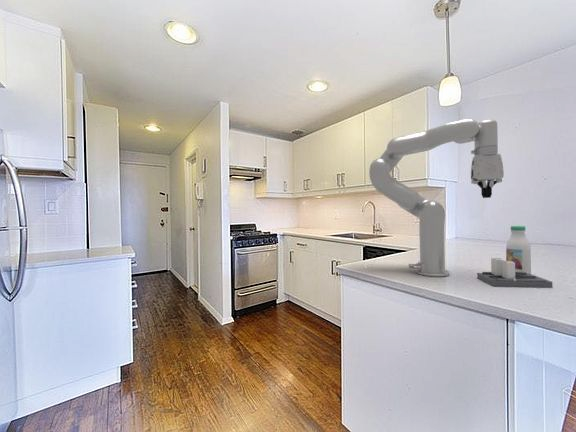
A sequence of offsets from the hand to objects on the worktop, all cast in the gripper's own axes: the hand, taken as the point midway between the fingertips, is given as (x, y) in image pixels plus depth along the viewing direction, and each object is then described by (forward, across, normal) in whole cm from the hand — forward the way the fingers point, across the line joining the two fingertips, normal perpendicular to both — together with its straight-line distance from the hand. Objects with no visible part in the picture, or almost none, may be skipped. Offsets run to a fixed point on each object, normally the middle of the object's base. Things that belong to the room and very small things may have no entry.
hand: (486, 197), depth 109 cm
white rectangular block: (+30, 0, -7) cm, 31 cm away
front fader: (+30, +1, -12) cm, 32 cm away
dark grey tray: (+32, +4, -10) cm, 34 cm away
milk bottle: (+32, +13, +3) cm, 35 cm away
